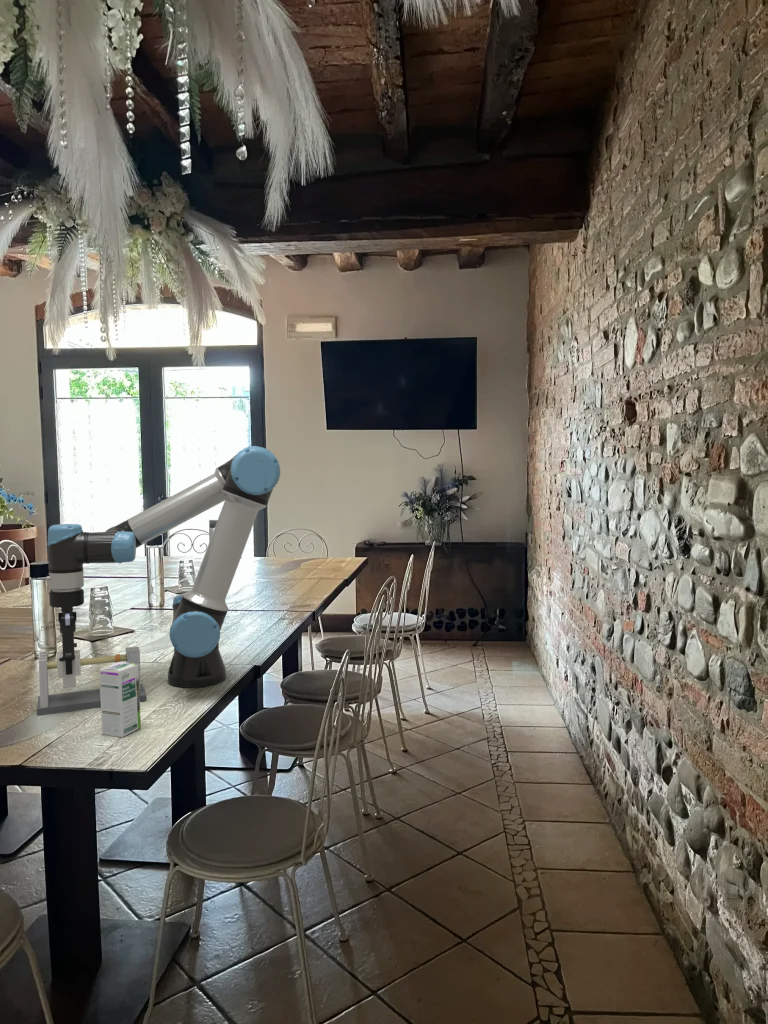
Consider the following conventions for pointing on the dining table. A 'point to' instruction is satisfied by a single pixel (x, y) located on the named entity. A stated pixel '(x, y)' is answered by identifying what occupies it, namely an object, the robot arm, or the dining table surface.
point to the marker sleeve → (77, 663)
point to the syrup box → (120, 699)
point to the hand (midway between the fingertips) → (69, 681)
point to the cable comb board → (80, 698)
